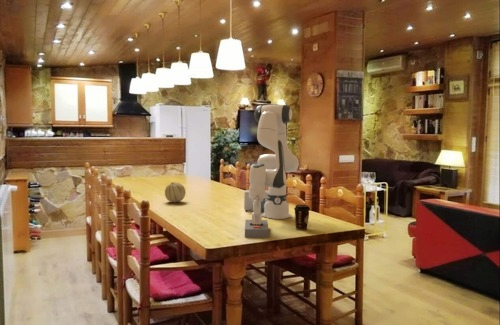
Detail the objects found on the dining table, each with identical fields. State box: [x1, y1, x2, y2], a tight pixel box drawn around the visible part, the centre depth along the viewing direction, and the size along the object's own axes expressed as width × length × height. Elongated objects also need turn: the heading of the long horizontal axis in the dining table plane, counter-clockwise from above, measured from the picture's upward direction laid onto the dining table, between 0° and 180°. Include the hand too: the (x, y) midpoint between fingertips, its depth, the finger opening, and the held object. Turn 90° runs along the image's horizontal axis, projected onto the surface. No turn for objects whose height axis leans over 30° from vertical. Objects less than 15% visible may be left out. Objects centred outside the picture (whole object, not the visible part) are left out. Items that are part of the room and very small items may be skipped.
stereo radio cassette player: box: [243, 189, 268, 212], centre depth 274 cm, size 21×8×20 cm, turn 89°
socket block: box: [244, 219, 270, 239], centre depth 217 cm, size 22×12×5 cm, turn 0°
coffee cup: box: [293, 204, 311, 231], centre depth 225 cm, size 9×8×13 cm
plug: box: [251, 212, 263, 226], centre depth 216 cm, size 4×5×7 cm
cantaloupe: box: [164, 181, 186, 203], centre depth 297 cm, size 15×15×15 cm
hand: (256, 220), depth 216 cm, fingers closed on plug, 3 cm apart
